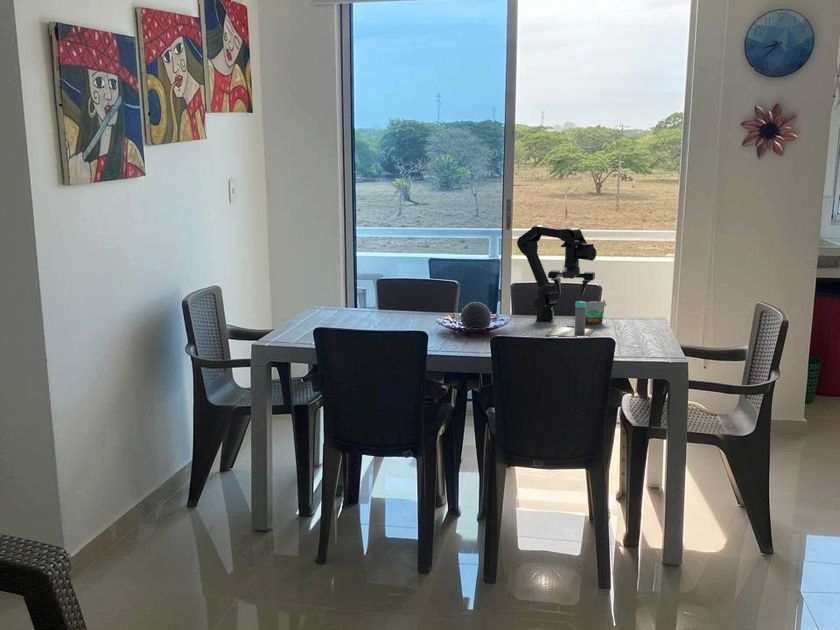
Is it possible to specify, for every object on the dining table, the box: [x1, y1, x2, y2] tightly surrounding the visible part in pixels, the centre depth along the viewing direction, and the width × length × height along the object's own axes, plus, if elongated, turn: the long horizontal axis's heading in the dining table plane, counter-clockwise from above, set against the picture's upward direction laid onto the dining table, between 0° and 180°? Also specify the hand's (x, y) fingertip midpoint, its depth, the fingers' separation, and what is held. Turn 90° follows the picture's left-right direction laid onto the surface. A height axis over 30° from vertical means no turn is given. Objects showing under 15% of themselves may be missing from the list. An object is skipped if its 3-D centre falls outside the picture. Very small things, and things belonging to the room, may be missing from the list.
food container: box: [578, 299, 607, 326], centre depth 346 cm, size 12×6×10 cm, turn 101°
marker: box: [574, 300, 587, 336], centre depth 322 cm, size 4×4×13 cm
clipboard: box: [545, 324, 595, 337], centre depth 329 cm, size 16×19×1 cm
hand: (570, 295), depth 341 cm, fingers open, 9 cm apart
